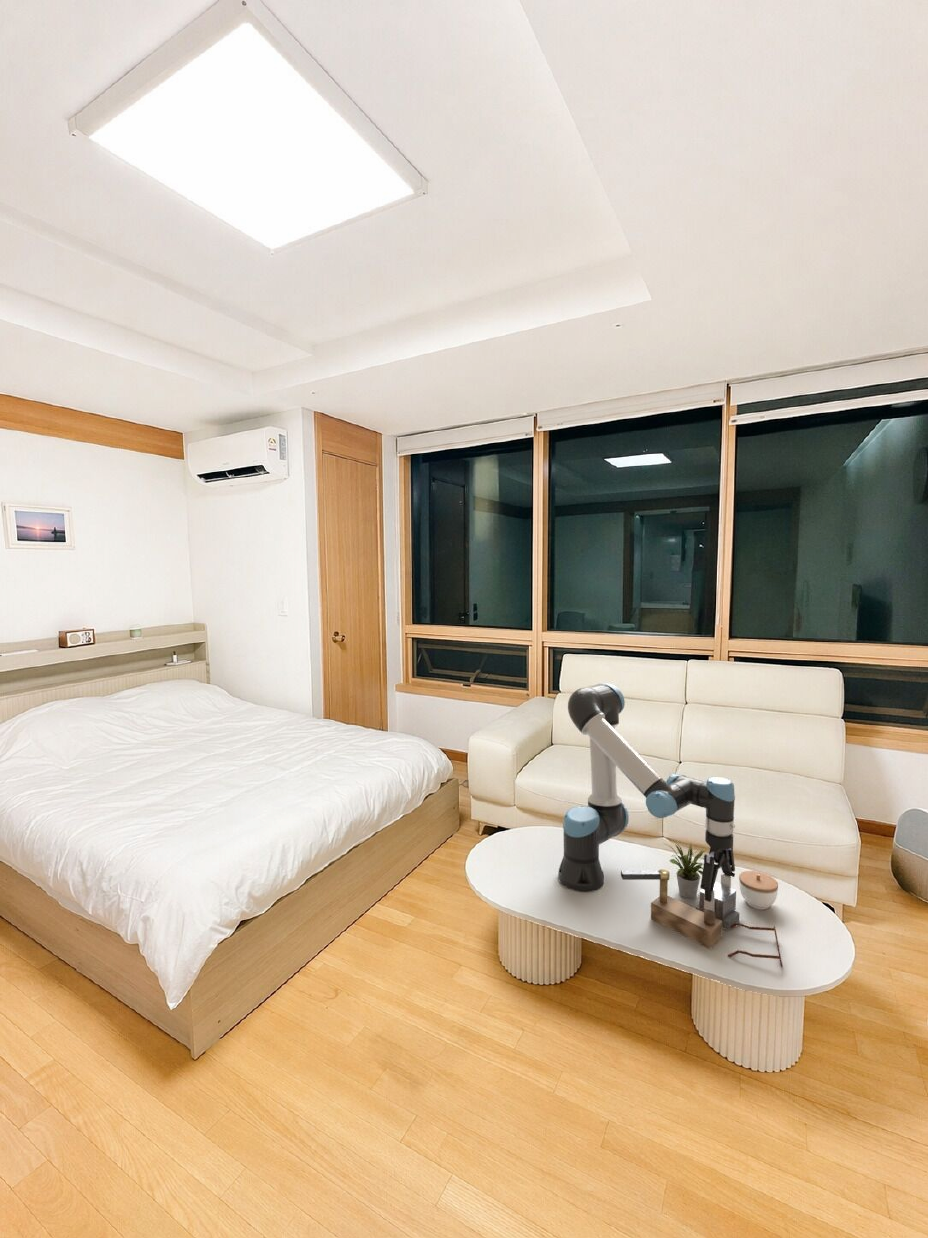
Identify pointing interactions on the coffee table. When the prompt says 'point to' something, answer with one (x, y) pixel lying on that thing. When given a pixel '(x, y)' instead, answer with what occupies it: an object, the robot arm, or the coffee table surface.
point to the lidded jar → (758, 889)
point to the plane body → (686, 918)
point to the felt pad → (729, 919)
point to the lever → (646, 875)
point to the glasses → (757, 954)
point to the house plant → (688, 872)
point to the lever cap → (721, 901)
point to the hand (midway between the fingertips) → (717, 903)
